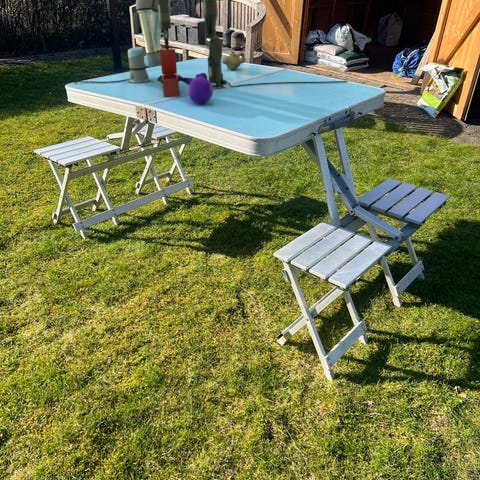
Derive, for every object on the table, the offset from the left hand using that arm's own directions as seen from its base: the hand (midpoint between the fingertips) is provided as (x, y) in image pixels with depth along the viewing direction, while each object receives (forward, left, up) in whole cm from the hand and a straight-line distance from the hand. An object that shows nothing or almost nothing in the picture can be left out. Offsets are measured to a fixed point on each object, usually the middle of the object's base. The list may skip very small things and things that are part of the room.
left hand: (170, 81), depth 301 cm
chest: (-1, -5, -7) cm, 9 cm away
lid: (0, -1, +12) cm, 12 cm away
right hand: (0, +3, +20) cm, 20 cm away
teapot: (+64, +65, -7) cm, 92 cm away
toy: (+11, -34, -7) cm, 36 cm away
